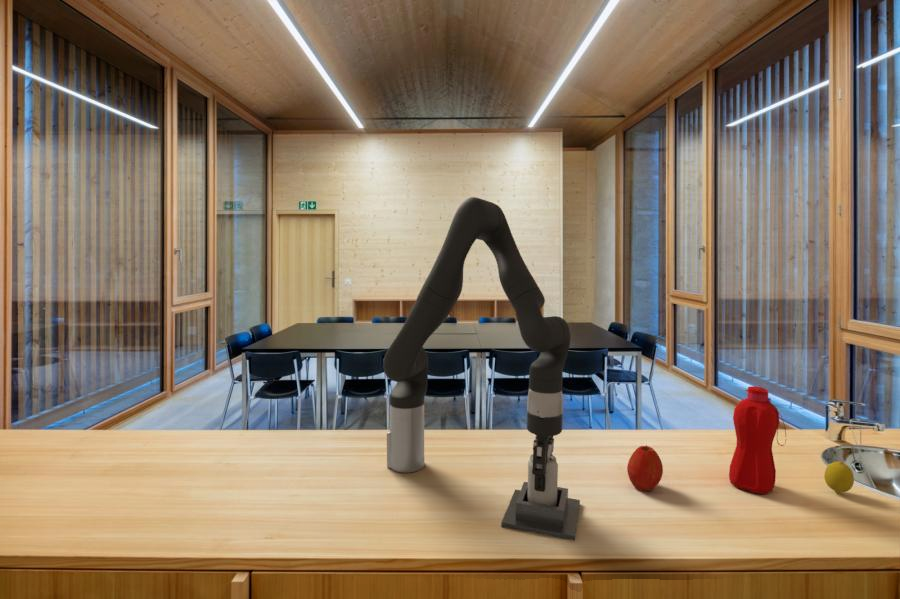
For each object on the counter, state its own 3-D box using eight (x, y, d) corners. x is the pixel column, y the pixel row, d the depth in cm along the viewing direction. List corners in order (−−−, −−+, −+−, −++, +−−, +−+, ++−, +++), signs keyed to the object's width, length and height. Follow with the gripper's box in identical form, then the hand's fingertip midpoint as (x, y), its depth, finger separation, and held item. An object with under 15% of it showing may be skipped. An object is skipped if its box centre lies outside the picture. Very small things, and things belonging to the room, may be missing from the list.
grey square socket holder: (501, 526, 103) (501, 506, 103) (515, 493, 117) (515, 475, 117) (574, 540, 98) (575, 519, 98) (579, 504, 112) (580, 485, 112)
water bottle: (778, 502, 114) (786, 397, 111) (725, 486, 121) (732, 387, 119) (785, 487, 121) (792, 388, 118) (734, 474, 128) (741, 380, 125)
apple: (666, 497, 116) (668, 453, 115) (629, 493, 117) (631, 450, 116) (657, 481, 124) (659, 440, 123) (623, 478, 125) (625, 437, 124)
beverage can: (556, 519, 104) (558, 465, 103) (526, 515, 106) (527, 462, 104) (556, 504, 110) (558, 452, 109) (527, 500, 112) (529, 450, 111)
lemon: (846, 489, 120) (849, 458, 119) (856, 500, 114) (859, 467, 114) (819, 486, 121) (822, 455, 121) (828, 496, 116) (831, 464, 115)
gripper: (532, 398, 113) (530, 465, 115) (521, 418, 100) (519, 494, 101) (565, 401, 111) (563, 470, 112) (558, 422, 97) (556, 500, 99)
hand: (542, 481), depth 107 cm, fingers open, 8 cm apart
